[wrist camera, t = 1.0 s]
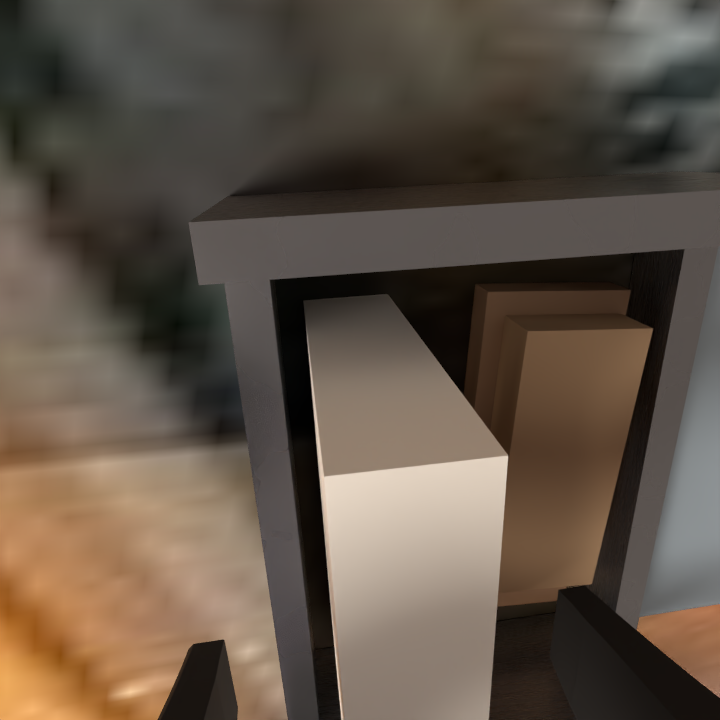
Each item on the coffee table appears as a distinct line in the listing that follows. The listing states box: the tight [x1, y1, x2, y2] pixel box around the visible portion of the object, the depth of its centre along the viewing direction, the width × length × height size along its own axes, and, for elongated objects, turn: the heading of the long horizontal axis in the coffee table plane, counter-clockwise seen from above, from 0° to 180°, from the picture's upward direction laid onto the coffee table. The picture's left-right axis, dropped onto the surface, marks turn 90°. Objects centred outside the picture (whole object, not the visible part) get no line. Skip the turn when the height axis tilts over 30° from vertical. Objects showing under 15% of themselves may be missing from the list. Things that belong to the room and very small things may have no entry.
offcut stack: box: [464, 282, 653, 607], centre depth 17 cm, size 12×4×3 cm, turn 179°
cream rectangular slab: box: [303, 294, 508, 720], centre depth 13 cm, size 12×2×9 cm, turn 2°
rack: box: [189, 171, 720, 720], centre depth 15 cm, size 18×13×6 cm
